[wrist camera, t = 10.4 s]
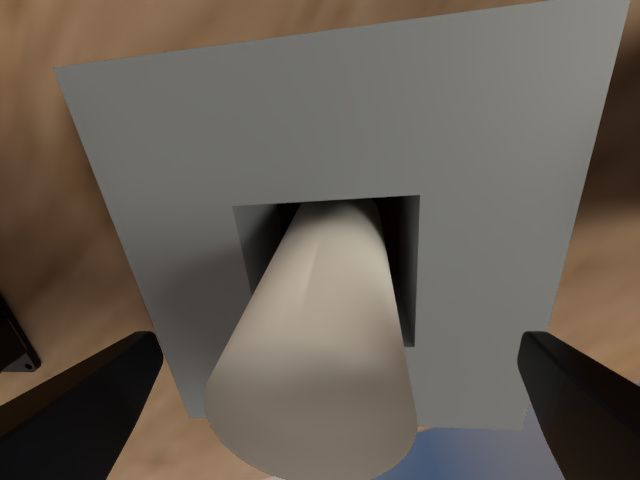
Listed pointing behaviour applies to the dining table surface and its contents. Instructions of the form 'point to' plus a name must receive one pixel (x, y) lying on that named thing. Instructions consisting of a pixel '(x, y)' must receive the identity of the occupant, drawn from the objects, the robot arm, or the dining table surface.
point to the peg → (318, 355)
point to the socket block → (361, 178)
